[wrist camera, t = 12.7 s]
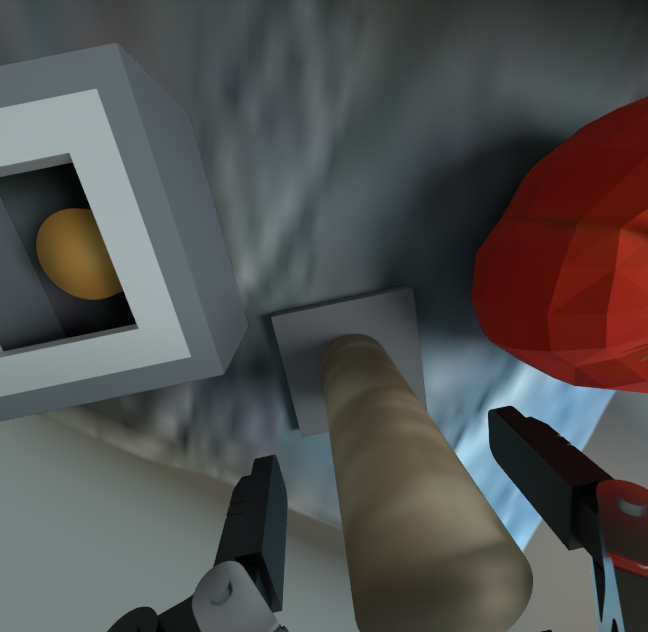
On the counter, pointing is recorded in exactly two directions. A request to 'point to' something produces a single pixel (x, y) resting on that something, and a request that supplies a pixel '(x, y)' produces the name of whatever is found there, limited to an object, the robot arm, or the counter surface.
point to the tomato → (575, 259)
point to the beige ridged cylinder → (412, 508)
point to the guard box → (113, 235)
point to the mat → (334, 322)
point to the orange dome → (77, 255)
